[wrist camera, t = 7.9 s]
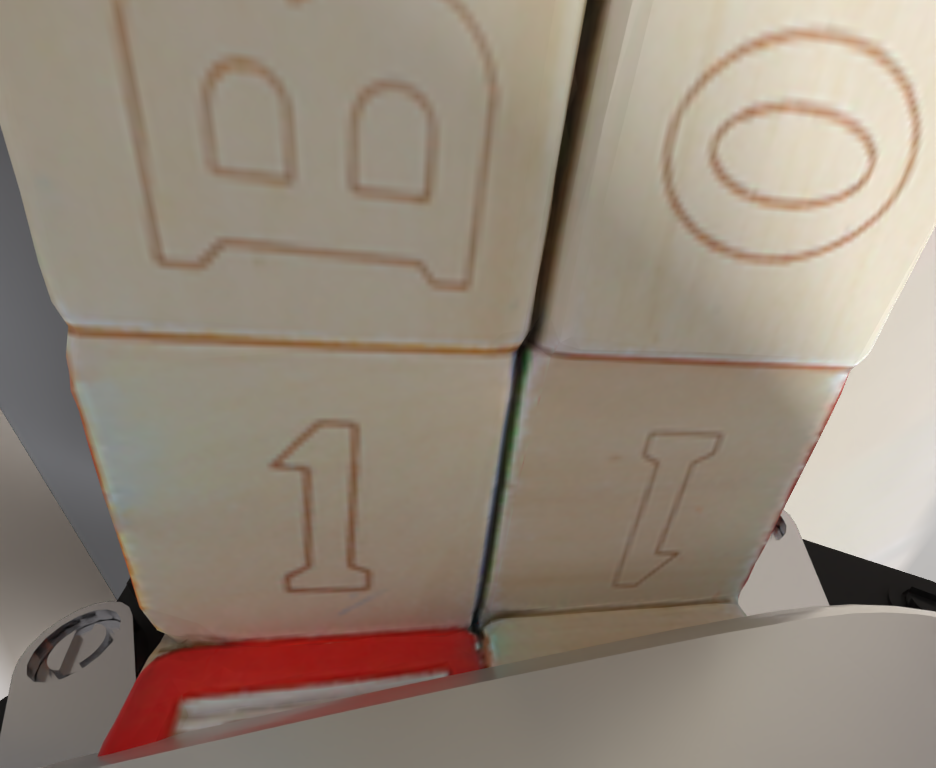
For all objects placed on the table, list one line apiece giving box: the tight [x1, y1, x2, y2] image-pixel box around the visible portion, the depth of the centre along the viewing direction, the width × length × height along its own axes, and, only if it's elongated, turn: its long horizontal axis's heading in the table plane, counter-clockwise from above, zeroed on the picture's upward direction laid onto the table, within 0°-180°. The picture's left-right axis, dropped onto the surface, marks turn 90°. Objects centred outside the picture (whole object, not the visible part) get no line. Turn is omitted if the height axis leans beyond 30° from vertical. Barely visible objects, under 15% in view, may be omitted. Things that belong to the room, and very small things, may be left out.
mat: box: [0, 126, 130, 600], centre depth 16 cm, size 22×16×1 cm
